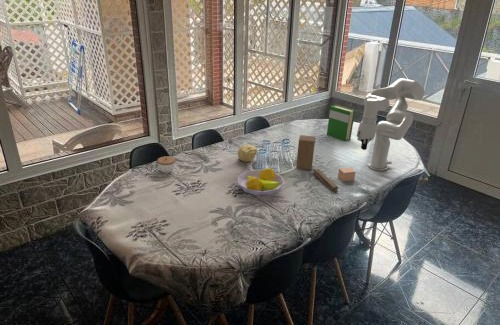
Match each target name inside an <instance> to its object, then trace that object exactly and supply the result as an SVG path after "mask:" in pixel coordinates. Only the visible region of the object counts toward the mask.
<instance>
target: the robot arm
mask: <svg viewBox="0 0 500 325" xmlns="http://www.w3.org/2000/svg"><path fill="white" fill-rule="evenodd" d="M424 96H425V88H424V87H423V86H422V85H421V83H419V82H418V81H416V80H413V79H408V78H398V79H396V80H395V81H393V82H392V83H390V85H389V86H386V87H382V88H381V87H380V88H377V89H373V90H372V91H371V92H369V93H368V94H367V95H366V96H365V97H364V100H363V104H364V109H363V115H362V119H361V121H360V123H359V125H358V128H357V132H356V137H357V138H356V140H357V141H359V142H361V146H360V149H361V150H363V151H366V150H367V148H368V145H369V143H370V141H372V140H374V144H373V148H372V154H371V159H370V161H369V162H368V163H367V167H368V168H369V169H371V170H374V171H378V172H383V171H384V170H385V171H387V170H388V167H389V166H388V165H392V164H393V161H391V160H390V161H388V157H389V151H390V146H391V141H390V140H395V141H401V140H402V139H403V137H404V136H405V135H406V133H407V132H408V131H409V128H410V127H411V126H412V124H413V122H414V115H413V114H412V113H411V112H408V111H407V110H408V108H409V104H408V101H407V100H406V99H409V100H412V101H414V100H415V101H420V100H422V99H423V98H424ZM392 100H393V101H395V102H394V103H393V105H392V107H391V109H389V111H388V113H387V115H386V117H385V119H386V120H379V121H378V122H377V120H378V112H383V111H386V110H387V109H388V108H389V107H390V101H392Z"/></svg>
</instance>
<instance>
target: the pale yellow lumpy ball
mask: <svg viewBox="0 0 500 325" xmlns="http://www.w3.org/2000/svg"><path fill="white" fill-rule="evenodd" d="M257 151H258V149H257V147H256V146H255V145H254V146H253V145H251V144H244V145H240V147H239V149H238V151H237V157H238V159H239V160H240V161H242V162H244V163H250V162H252V161H253V160H254V159H255V157H256V155H257V154H258V152H257ZM256 153H257V154H256Z"/></svg>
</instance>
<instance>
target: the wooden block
mask: <svg viewBox="0 0 500 325" xmlns="http://www.w3.org/2000/svg"><path fill="white" fill-rule="evenodd" d="M315 145H316V137H315V136H313V135H312V136H311V135H306V134H305V135H303V134H301V135H299V138H298V146H297V153H296V154H297V155H296V163H295V164H296V165H295V167H296V169H301V170H309V171H311V170H312V169H313V162H314V155H315V154H314V152H315Z"/></svg>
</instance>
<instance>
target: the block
mask: <svg viewBox="0 0 500 325" xmlns="http://www.w3.org/2000/svg"><path fill="white" fill-rule="evenodd" d="M337 178H338V179H339V180H340V181H341V180H342V181H341V182H351V181H350V180H352V181H355V178H356V170H354V169H353V168H352V167H343V168H338V173H337Z"/></svg>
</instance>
